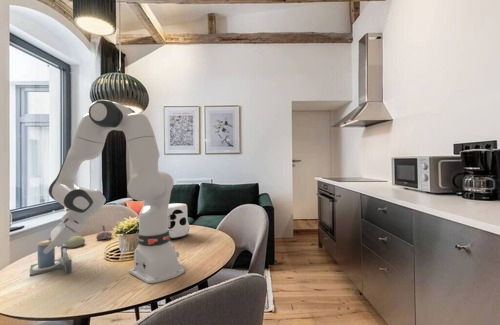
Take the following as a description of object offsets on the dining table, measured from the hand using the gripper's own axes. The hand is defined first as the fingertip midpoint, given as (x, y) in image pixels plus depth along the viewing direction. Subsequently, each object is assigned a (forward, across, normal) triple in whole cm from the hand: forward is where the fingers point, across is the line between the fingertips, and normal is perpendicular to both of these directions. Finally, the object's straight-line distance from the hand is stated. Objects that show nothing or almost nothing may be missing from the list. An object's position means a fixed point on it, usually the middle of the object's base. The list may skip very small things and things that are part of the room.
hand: (44, 249), depth 103 cm
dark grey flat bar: (0, +1, +10) cm, 10 cm away
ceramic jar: (+4, 0, +5) cm, 7 cm away
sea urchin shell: (-3, -26, +15) cm, 30 cm away
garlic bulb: (-13, -28, +24) cm, 39 cm away
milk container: (-35, -4, +46) cm, 58 cm away
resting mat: (+5, 0, +6) cm, 8 cm away
